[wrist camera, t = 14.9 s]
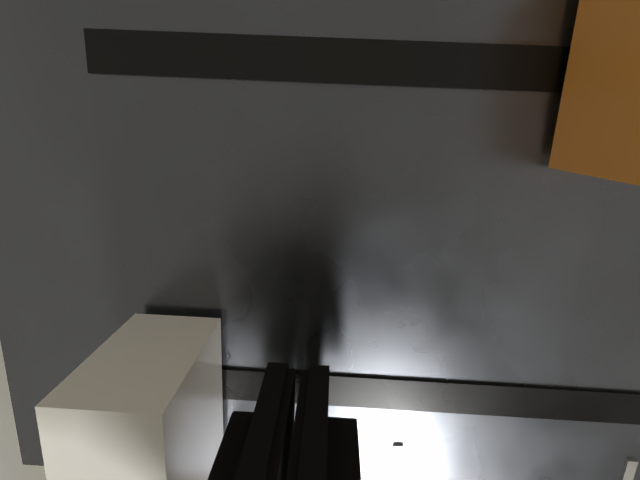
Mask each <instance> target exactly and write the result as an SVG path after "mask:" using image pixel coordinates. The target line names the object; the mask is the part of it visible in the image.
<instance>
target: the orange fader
mask: <svg viewBox="0 0 640 480" xmlns="http://www.w3.org/2000/svg"><path fill="white" fill-rule="evenodd" d="M548 168H552V169H557V170H562V171H567V172H572V173H577V174H582V175H587V176H592V177H598V178H603V179H608V180H613V181H618V182H623V183H628V184H633V185H638V186H640V0H579V4H578V10H577V15H576V20H575V26H574V31H573V37H572V42H571V47H570V53H569V58H568V64H567V69H566V74H565V80H564V85H563V91H562V96H561V101H560V107H559V112H558V118H557V123H556V128H555V134H554V139H553V144H552V150H551V155H550V161H549V166H548Z"/></svg>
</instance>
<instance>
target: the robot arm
mask: <svg viewBox="0 0 640 480" xmlns="http://www.w3.org/2000/svg"><path fill="white" fill-rule="evenodd" d="M329 370H330V366H329V365H312V364H310V368H309V370H303V369H302V371H301V378H300V385H299V392H298V399H297V406H296V413H295V383H296V369H289V364H288V363H277V362H268V364H267V368H266V371H265V374H264V378H263V381H262V385H261V388H260V392H259V395H258V399H257V402H256V406H255V409H254V412H245V411H233V412H232V414H231V416H230V419H229V422H228V425H227V427H226V430H225V433H224V436H223V438H222V441H221V444H220V447H219V449H218V452H217V455H216V458H215V460H214V463H213V466H212V469H211V471H210V474H209V477H208V480H361V469H360V455H359V441H358V426H357V419H356V418H342V417H328V406H329ZM294 415H295V420H294Z"/></svg>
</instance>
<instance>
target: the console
mask: <svg viewBox="0 0 640 480" xmlns="http://www.w3.org/2000/svg"><path fill="white" fill-rule="evenodd" d="M578 4H579V0H0V340H1V346H2V351H3V357H4V362H5V368H6V373H7V379H8V384H9V390H10V396H11V401H12V407H13V412H14V418H15V423H16V429H17V435H18V440H19V446H20V451H21V457H22V462H23V464H25V465H40V466H44V461H43V455H42V449H41V443H40V436H39V430H38V424H37V418H36V412H35V406H36V405H37V404H38V403H39V402H40V401H41V400H42V399H44V398H45V397H46V396H47V395H48V394H49V393H50V392H51V391H52V390H53V389H54V388H55V387H57V386H58V385H59V384H60V383H61V382H62V381H63V380H64V379H65V378H66V377H67V376H68V375H69V374H71V373H72V372H73V371H74V370H75V369H76V368H77V367H78V366H79V365H80V364H81V363H82V362H83V361H85V360H86V359H87V358H88V357H89V356H90V355H91V354H92V353H93V352H94V351H95V350H96V349H97V348H99V347H100V346H101V345H102V344H103V343H104V342H105V341H106V340H107V339H108V338H109V337H110V336H111V335H113V334H114V333H115V332H116V331H117V330H118V329H119V328H120V327H121V326H122V325H123V324H124V323H125V322H127V321H128V320H129V319H130V318H131V317H132V316H133V315H134V314H135V313H136V314H154V315H172V316H190V317H207V318H221V352H222V394H223V436H224V433H225V430H226V427H227V425H228V422H229V419H230V416H231V414H232V412H233V411H245V412H254V409H255V406H256V402H257V399H258V395H259V392H260V388H261V385H262V381H263V378H264V374H265V371H266V368H267V364H268V362H277V363H288V364H289V369H296V383H295V413H296V406H297V399H298V392H299V385H300V378H301V371H302V369H303V370H309V368H310V364H312V365H329V366H330V370H329V406H328V417H342V418H356V419H357V426H358V441H359V455H360V469H361V480H640V186H638V185H633V184H628V183H623V182H618V181H613V180H608V179H603V178H598V177H592V176H587V175H582V174H577V173H572V172H567V171H562V170H557V169H552V168H548V166H549V161H550V155H551V150H552V144H553V139H554V134H555V128H556V123H557V118H558V112H559V107H560V101H561V96H562V91H563V85H564V80H565V74H566V69H567V64H568V58H569V53H570V47H571V42H572V37H573V31H574V26H575V20H576V15H577V10H578ZM294 420H295V415H294Z"/></svg>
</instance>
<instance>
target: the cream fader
mask: <svg viewBox="0 0 640 480" xmlns="http://www.w3.org/2000/svg"><path fill="white" fill-rule="evenodd" d="M35 412H36V418H37V424H38V430H39V436H40V443H41V449H42V455H43V461H44V467H45V473H46V479H47V480H208V477H209V474H210V471H211V469H212V466H213V463H214V460H215V458H216V455H217V452H218V449H219V447H220V444H221V441H222V438H223V394H222V352H221V318H207V317H190V316H172V315H154V314H136V313H135V314H134V315H133V316H132V317H131V318H130V319H129V320H128V321H127V322H125V323H124V324H123V325H122V326H121V327H120V328H119V329H118V330H117V331H116V332H115V333H114V334H113V335H111V336H110V337H109V338H108V339H107V340H106V341H105V342H104V343H103V344H102V345H101V346H100V347H99V348H97V349H96V350H95V351H94V352H93V353H92V354H91V355H90V356H89V357H88V358H87V359H86V360H85V361H83V362H82V363H81V364H80V365H79V366H78V367H77V368H76V369H75V370H74V371H73V372H72V373H71V374H69V375H68V376H67V377H66V378H65V379H64V380H63V381H62V382H61V383H60V384H59V385H58V386H57V387H55V388H54V389H53V390H52V391H51V392H50V393H49V394H48V395H47V396H46V397H45V398H44V399H42V400H41V401H40V402H39V403H38V404H37V405H36V406H35Z"/></svg>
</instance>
